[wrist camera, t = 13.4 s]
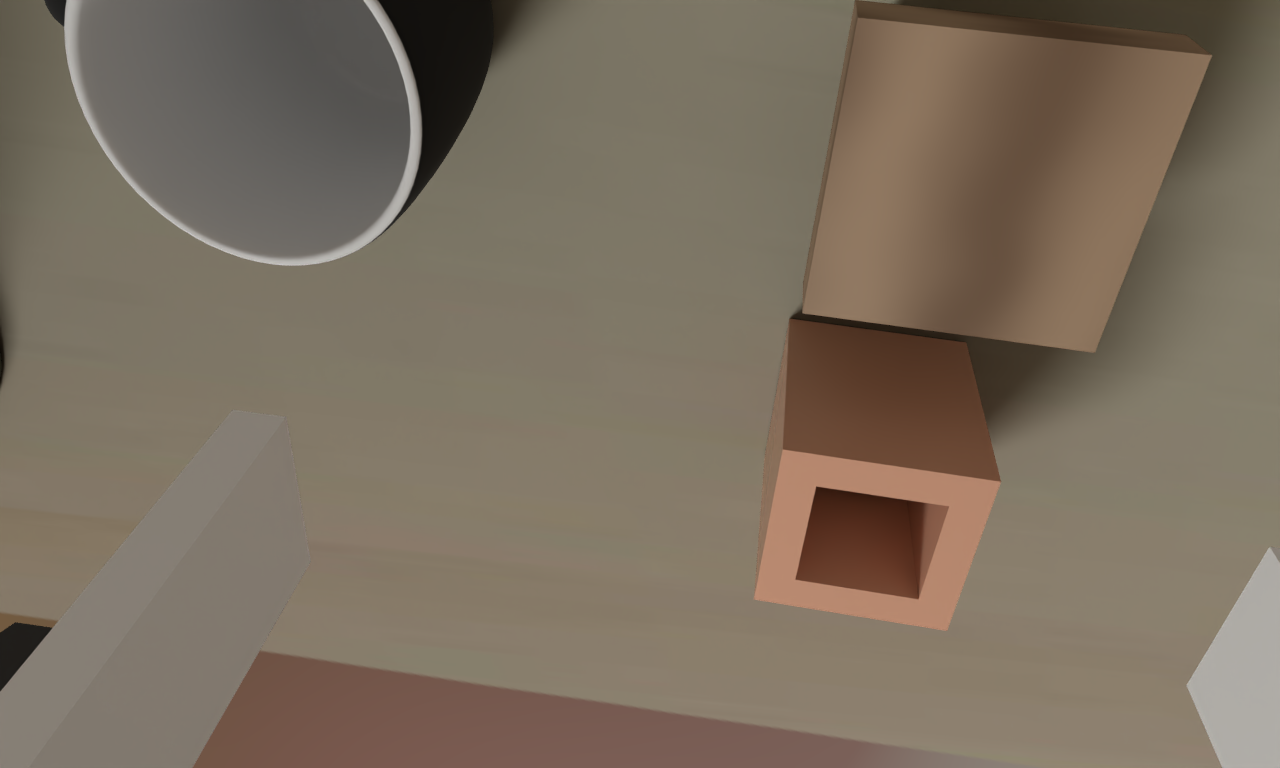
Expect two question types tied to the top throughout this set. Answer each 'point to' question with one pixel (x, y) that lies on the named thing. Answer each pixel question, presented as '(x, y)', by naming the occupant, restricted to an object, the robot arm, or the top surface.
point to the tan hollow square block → (873, 475)
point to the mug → (278, 110)
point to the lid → (993, 171)
